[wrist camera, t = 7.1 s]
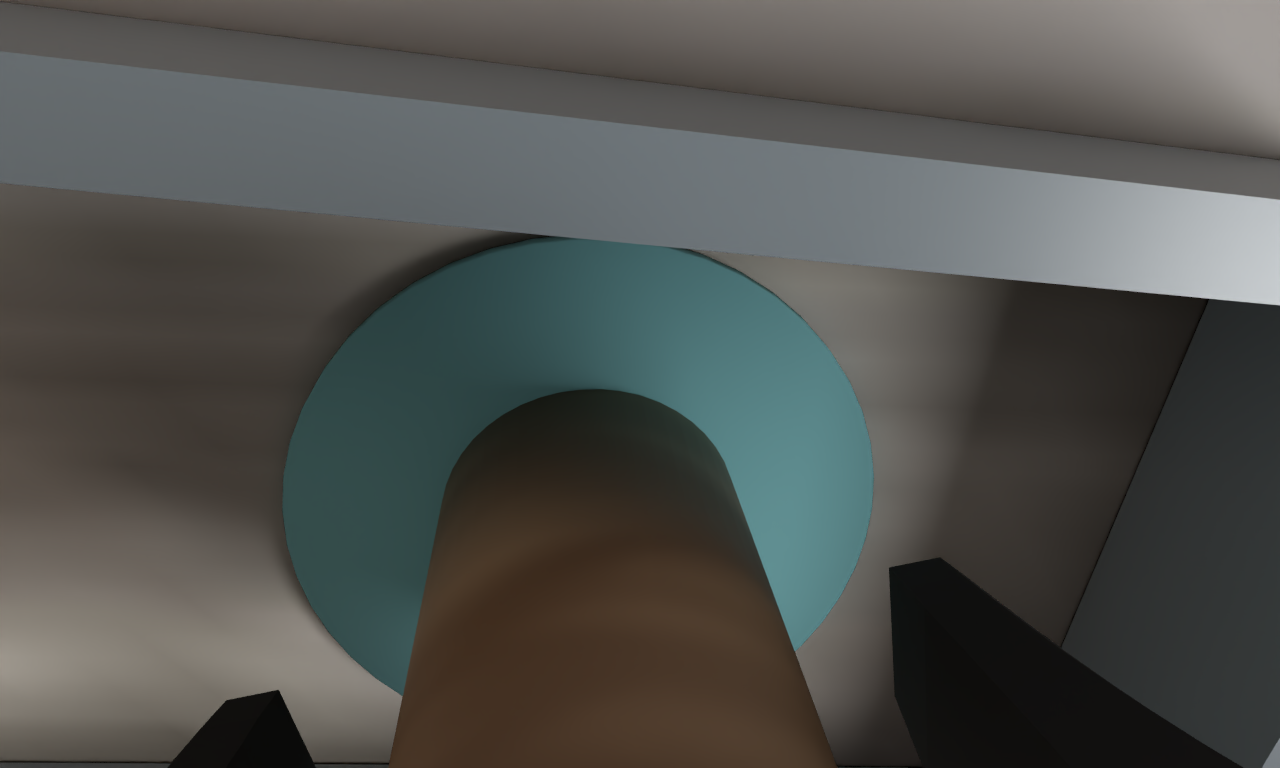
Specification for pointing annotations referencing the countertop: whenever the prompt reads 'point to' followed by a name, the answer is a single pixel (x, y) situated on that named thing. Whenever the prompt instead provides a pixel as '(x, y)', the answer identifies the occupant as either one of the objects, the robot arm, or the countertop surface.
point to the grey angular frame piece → (754, 225)
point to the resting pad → (558, 362)
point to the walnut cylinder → (600, 605)
